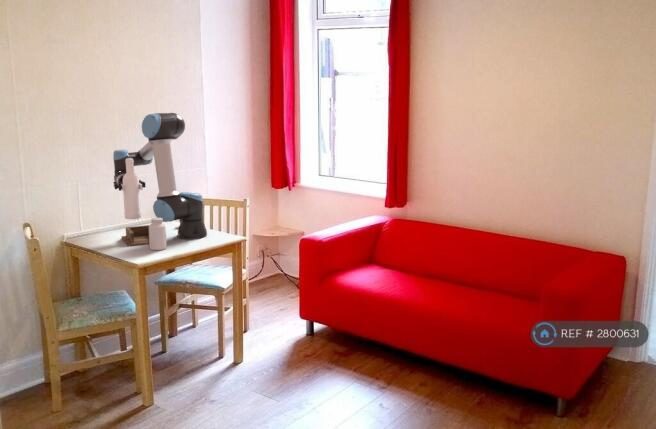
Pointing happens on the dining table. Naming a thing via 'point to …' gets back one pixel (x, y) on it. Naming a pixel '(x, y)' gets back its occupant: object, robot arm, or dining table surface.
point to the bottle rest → (136, 235)
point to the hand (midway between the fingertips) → (132, 188)
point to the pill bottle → (157, 234)
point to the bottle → (131, 192)
